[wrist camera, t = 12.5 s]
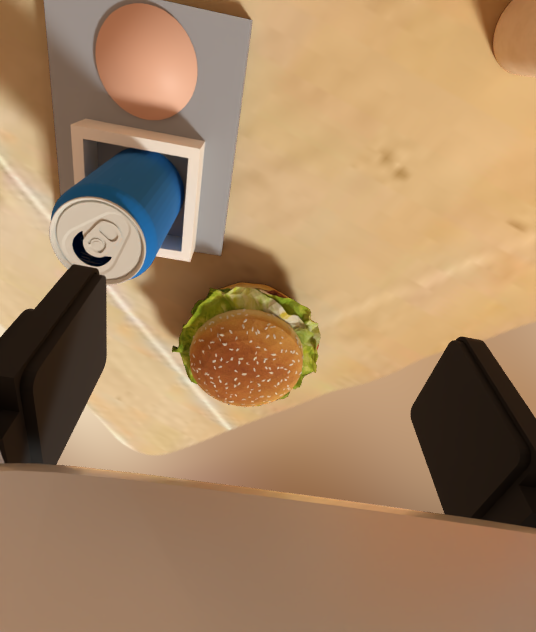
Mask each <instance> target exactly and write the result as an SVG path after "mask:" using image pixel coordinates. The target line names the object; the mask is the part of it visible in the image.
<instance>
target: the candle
mask: <svg viewBox="0 0 536 632" xmlns="http://www.w3.org/2000/svg"><path fill="white" fill-rule="evenodd" d="M493 50H494V54H495V58H496V60H497V62H498V63H499V65H500V66H501V67H502V68H503V69H504V70H506V71H507V72H509V73H512V74H515V75H520V76H529V77H536V0H512V1H511V2H510V3H509V4H508V6H507V7H506V8H505V10H504V11H503V13H502V15H501V16H500V18H499V20H498V23H497V25H496V29H495V32H494V38H493Z"/></svg>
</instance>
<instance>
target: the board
mask: <svg viewBox="0 0 536 632" xmlns="http://www.w3.org/2000/svg"><path fill="white" fill-rule="evenodd" d="M44 10H45V22H46V33H47V45H48V56H49V68H50V80H51V91H52V103H53V115H54V126H55V138H56V149H57V161H58V173H59V184H60V196H61V195H62V194H64V193H65V192H66V191H67V190H68V189H70V188H71V187H73V186H74V185H75V184H77V183H78V182H79V181H81V180H82V179H84V178H85V177H86V176H88V175H89V174H90V173H92V172H93V171H94V170H96V169H97V168H99V167H100V166H101V165H103V164H104V163H105V162H107V161H108V160H109V159H111V158H112V157H114V156H115V155H116V154H118V153H119V152H121V151H123V150H125V149H129V148H136V149H141V150H147V151H152V152H158V153H160V154H162V155H163V156H165V157H166V158H167V159H168V160H169V161H170V162H172V164H173V165H174V166H175V167H176V169H177V170H178V172H179V174H180V176H181V179H182V181H183V186H184V201H183V205H182V207H181V209H180V211H179V213H178V215H177V217H176V219H175V221H174V223H173V224H172V226H171V228H170V230H169V232H168V234H167V236H166V238H165V240H164V241H163V243H162V245H161V247H160V249H159V251H158V253H157V255H156V256H157V257H163V258H169V259H176V260H182V261H188V262H190V261H191V258H192V255H193V252H200V253H207V254H213V255H219V256H221V253H222V247H223V240H224V232H225V225H226V217H227V209H228V202H229V194H230V187H231V179H232V172H233V164H234V156H235V149H236V141H237V134H238V126H239V119H240V111H241V104H242V96H243V88H244V81H245V73H246V66H247V58H248V51H249V43H250V35H251V28H252V20H249V19H245V18H240V17H236V16H231V15H227V14H222V13H218V12H213V11H209V10H204V9H200V8H195V7H191V6H186V5H182V4H177V3H173V2H168V1H164V0H44Z"/></svg>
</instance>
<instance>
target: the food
mask: <svg viewBox="0 0 536 632" xmlns="http://www.w3.org/2000/svg"><path fill="white" fill-rule="evenodd" d="M191 314H192V316H191V318H190V320H189V321H188V323H187V324H186V325H185V324H184V325H183V329H182V332H181V335H180V337H179V347H175V346H173V348H172V352H180V354H181V357H182V360H183V363H184V366H185V369H186V372H187V375H188V377H189V379H190V380H191V382H193V383H196V384H198V385H199V386H200V387H201V388H202V389H203V390H204V391H205V392H206V393H207V394H209V395H210V396H212V397H213V398H215V399H217V400H219V401H221V402H223V403H226V404H228V405H230V404H232V405H236V406H243V407H247V406H260V405H263V404H267V403H271V402H273V401H275V400H278V399H284V398H286V397H288V395H289V393H290V390H291V389H296V388H297V387H300V385H301V383H302V379H303V378H304V376H305V375H307V374H309V373H311V372H313V371H314V372H315V373H316V368H317V365H316V361H317V358H318V354H317V349H318V346H319V341H320V332H319V329H318V323H315V322H314V321H312V320H311V319H310V317H311V311H310V309H309V308H307V307H305V306H302V305H300V304H299V303H297V302H296V301H295V300H293V299H291V298H288V297H287V296H286V295H284V294H283V293H281V292H279V291H277V290H275V289H273V288H271V287H269V286H267V285H263V284H252V283H241V282H240V283H236V284H233V285H230V286H227V287H224V288H221V289H213V288H210V291H209V294H208V296H207V298H206V299H205V300H199V301H198V302H197V303H196V304H195V305H194V307H193V309H192V311H191Z"/></svg>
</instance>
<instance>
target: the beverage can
mask: <svg viewBox="0 0 536 632" xmlns="http://www.w3.org/2000/svg"><path fill="white" fill-rule="evenodd" d="M183 201H184V186H183V181H182V179H181V176H180V174H179V172H178V170H177V169H176V167H175V166H174V165H173V164H172V162H170V161H169V160H168V159H167V158H166V157H165V156H163V155H162V154H160V153H158V152H152V151H147V150H141V149H136V148H129V149H125V150H123V151H121V152H119V153H118V154H116V155H115V156H114V157H112V158H111V159H109V160H108V161H107V162H105V163H104V164H103V165H101V166H100V167H99V168H97V169H96V170H94V171H93V172H92V173H90V174H89V175H88V176H86V177H85V178H84V179H82V180H81V181H79V182H78V183H77V184H75V185H74V186H73V187H71V188H70V189H68V190H67V191H66V192H65V193H64V194H62V195H61V196H60V198H59V199H58V200H57V202H56V204H55V206H54V208H53V211H52V216H51V223H50V228H49V236H50V242H51V245H52V248H53V250H54V253H55V254H56V256H57V258H58V259H59V260H60V262H61V263H62V264H63V265H64V266H65V267H66V268H67V269H69V268H70V267H71V266H72V265H73V264H77V265H82V266H88V267H93V268H97V269H98V270H99V275H105V277H106V285H115V284H120V283H123V282H125V281H127V280H130V279H133V278H135V277H137V276H139V275H140V274H142V273H143V272H144V271H146V270H147V269H148V268H149V266H150V265H151V264H152V262H153V260H154V258H155V256H156V255H157V253H158V251H159V249H160V247H161V245H162V243H163V241H164V240H165V238H166V236H167V234H168V232H169V230H170V228H171V226H172V224H173V223H174V221H175V219H176V217H177V215H178V213H179V211H180V209H181V207H182V205H183Z"/></svg>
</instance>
